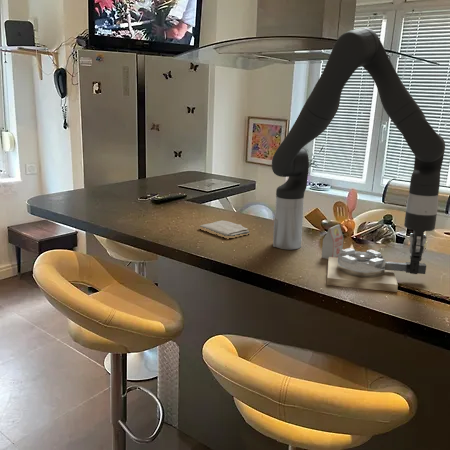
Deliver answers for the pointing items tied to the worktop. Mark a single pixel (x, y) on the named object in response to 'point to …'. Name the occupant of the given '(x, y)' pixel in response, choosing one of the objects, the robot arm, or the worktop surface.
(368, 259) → the grey frying pan
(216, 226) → the washcloth
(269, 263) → the worktop surface
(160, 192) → the worktop surface
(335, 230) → the white carton
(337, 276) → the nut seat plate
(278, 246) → the robot arm
